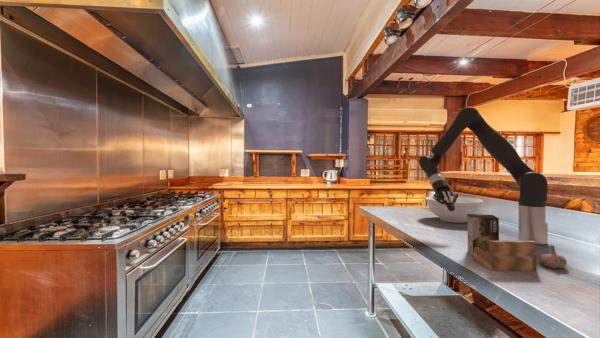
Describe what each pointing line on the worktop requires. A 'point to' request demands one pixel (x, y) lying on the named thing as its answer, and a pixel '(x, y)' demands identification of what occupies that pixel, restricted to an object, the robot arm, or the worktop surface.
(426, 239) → the worktop surface
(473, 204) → the bowl
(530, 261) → the holder
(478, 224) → the coffee box
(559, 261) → the garlic bulb
